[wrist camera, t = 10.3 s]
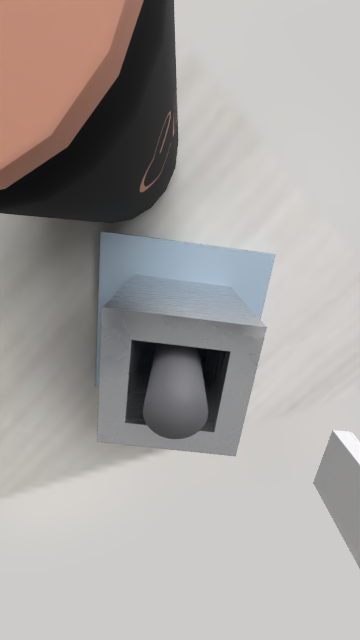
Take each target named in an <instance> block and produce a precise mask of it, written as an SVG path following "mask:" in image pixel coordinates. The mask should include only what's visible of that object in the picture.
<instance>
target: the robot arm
mask: <svg viewBox="0 0 360 640" xmlns="http://www.w3.org/2000/svg"><path fill="white" fill-rule="evenodd" d="M313 483H314V485H315V487H316V489H317V490H318V492H319V494H320V496H321V498H322V499H323V501H324V503H325V505H326V507H327V509H328V511H329V513H330V515H331V516H332V518H333V520H334V522H335V523H336V525H337V527H338V529H339V531H340V533H341V535H342V537H343V538H344V540H345V542H346V544H347V546H348V548H349V549H350V551H351V553H352V555H353V557H354V559H355V560H356V562H357V564H358V566H359V568H360V441H359V440H358V439H357V438H356V437H355V436H354V435H353V433H352V432H347V431H337V430H333V431H332V433H331V436H330V439H329V442H328V445H327V447H326V450H325V452H324V455H323V458H322V460H321V463H320V466H319V469H318V471H317V474H316V477H315V479H314V482H313Z"/></svg>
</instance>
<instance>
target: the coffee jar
mask: <svg viewBox="0 0 360 640" xmlns="http://www.w3.org/2000/svg"><path fill="white" fill-rule="evenodd" d="M177 147H178V119H177V87H176V56H175V24H174V0H0V213H4V214H15V215H26V216H38V217H49V218H60V219H71V220H82V221H93V222H104V223H114V222H119V221H124V220H129V219H133V218H134V217H136V216H138V215H139V214H141V213H143V212H144V211H146V210H148V209H149V208H151V207H152V206H153V204H154V203H155V202H156V201H157V200H158V199H159V197H160V196H161V195H162V194H163V193H164V191H165V190H166V188H167V186H168V183H169V181H170V179H171V176H172V174H173V171H174V169H175V165H176V156H177Z"/></svg>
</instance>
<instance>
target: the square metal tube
mask: <svg viewBox="0 0 360 640" xmlns="http://www.w3.org/2000/svg"><path fill="white" fill-rule="evenodd" d="M266 328H267V327H266V326H265V325H264V324H263V323H262V321H261V320H260V319H259V318H258V317H257V316H256V315H255V313H254V312H253V311H252V310H251V309H250V308H249V306H248V305H247V304H246V303H245V302H244V301H243V300H242V298H241V297H240V296H239V295H238V294H237V293H236V292H235V290H234V289H233V288H232V287H230V286H222V285H214V284H206V283H199V282H191V281H183V280H175V279H167V278H159V277H152V276H144V275H136V274H135V275H134V276H133V277H132V278H131V279H130V280H129V281H128V282H127V283H126V284H125V285H124V286H123V287H122V288H121V289H120V290H119V291H118V292H117V293H116V294H115V295H114V296H113V297H112V298H111V299H110V300H109V301H108V302H107V303H106V304H105V305H104V306H103V307H102V330H101V355H100V380H99V404H98V429H97V442H104V443H114V444H123V445H133V446H142V447H152V448H161V449H171V450H181V451H191V452H200V453H209V454H219V455H228V456H236V452H237V448H238V444H239V440H240V436H241V432H242V428H243V423H244V419H245V415H246V411H247V407H248V403H249V399H250V394H251V390H252V386H253V382H254V378H255V374H256V370H257V365H258V361H259V357H260V353H261V349H262V345H263V340H264V336H265V332H266ZM147 342H155V343H163V344H172V345H180V346H188V347H197V348H203V349H202V355H200V359H201V366H202V372H203V379H204V386H205V392H206V399H207V406H208V417H207V421H206V423H205V425H204V426H203V427H202V429H201V430H200V431H198V432H197V433H196V434H194V435H192V436H190V437H187V438H184V439H168V438H164V437H161V436H159V435H157V434H156V433H154V432H153V431H152V430H151V429H150V428H149V427H148V426H147V424H146V422H145V420H144V417H143V406H144V401H145V396H146V392H147V387H148V382H149V378H150V373H151V368H152V363H153V359H154V354H155V349H148V348H147Z"/></svg>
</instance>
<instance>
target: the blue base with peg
mask: <svg viewBox="0 0 360 640" xmlns="http://www.w3.org/2000/svg"><path fill="white" fill-rule="evenodd" d="M274 258H275V254H270V253H263V252H255V251H248V250H240V249H233V248H225V247H218V246H210V245H203V244H195V243H188V242H180V241H173V240H165V239H158V238H150V237H142V236H135V235H127V234H120V233H112V232H105V231H101V239H100V267H99V296H98V324H97V352H96V381H95V386H99V380H100V355H101V330H102V307H103V306H104V305H105V304H106V303H107V302H108V301H109V300H110V299H111V298H112V297H113V296H114V295H115V294H116V293H117V292H118V291H119V290H120V289H121V288H122V287H123V286H124V285H125V284H126V283H127V282H128V281H129V280H130V279H131V278H132V277H133V276H134V275H135V274H136V275H144V276H152V277H159V278H167V279H175V280H183V281H191V282H199V283H206V284H214V285H222V286H230V287H232V288H233V289H234V290H235V292H236V293H237V294H238V295H239V296H240V297H241V298H242V300H243V301H244V302H245V303H246V304H247V305H248V306H249V308H250V309H251V310H252V311H253V312H254V313H255V315H256V316H257V317H258V318H259V319H261V315H262V310H263V306H264V302H265V297H266V293H267V289H268V284H269V280H270V276H271V271H272V267H273V263H274ZM147 348H148V349H155V354H154V359H153V363H152V368H151V373H150V378H149V382H148V387H147V392H146V396H145V401H144V406H143V417H144V420H145V422H146V424H147V426H148V427H149V428H150V429H151V430H152V431H153V432H154V433H156V434H157V435H159V436H161V437H164V438H168V439H184V438H187V437H190V436H192V435H194V434H196V433H197V432H198V431H200V430H201V429H202V427H203V426H204V425H205V423H206V421H207V417H208V406H207V399H206V392H205V386H204V379H203V372H202V366H201V359H200V355H202V349H203V348H197V347H188V346H180V345H172V344H163V343H155V342H147Z"/></svg>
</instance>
